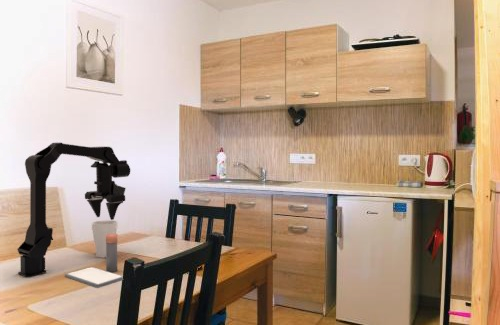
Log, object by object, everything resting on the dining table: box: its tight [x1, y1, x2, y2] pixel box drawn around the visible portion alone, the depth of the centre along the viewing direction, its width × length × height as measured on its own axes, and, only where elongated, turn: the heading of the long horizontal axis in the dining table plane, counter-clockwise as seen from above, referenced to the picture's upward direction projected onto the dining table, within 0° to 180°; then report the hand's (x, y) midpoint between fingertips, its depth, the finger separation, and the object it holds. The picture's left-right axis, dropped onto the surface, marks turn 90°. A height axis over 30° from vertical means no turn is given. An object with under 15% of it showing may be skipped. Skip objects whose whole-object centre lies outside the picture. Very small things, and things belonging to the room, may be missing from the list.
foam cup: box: [91, 219, 118, 258], centre depth 158 cm, size 10×9×13 cm
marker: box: [105, 233, 118, 273], centre depth 138 cm, size 4×4×12 cm
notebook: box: [64, 266, 123, 289], centre depth 131 cm, size 10×18×1 cm, turn 55°
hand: (105, 218), depth 157 cm, fingers open, 9 cm apart
